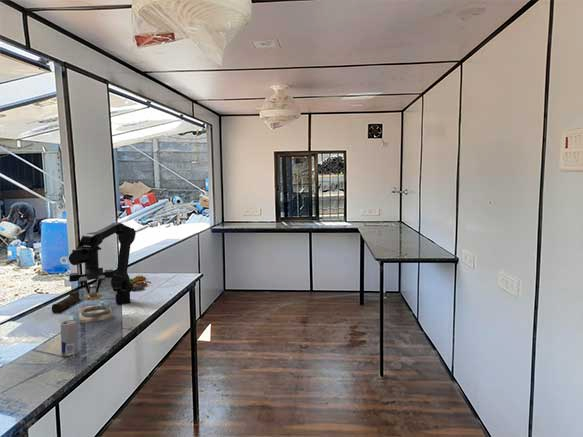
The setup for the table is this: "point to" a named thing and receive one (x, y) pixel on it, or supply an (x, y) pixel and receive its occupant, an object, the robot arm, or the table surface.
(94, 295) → the bronze gear
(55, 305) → the hand tool
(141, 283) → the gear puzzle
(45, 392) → the table surface
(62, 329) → the energy drink
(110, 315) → the gear board
